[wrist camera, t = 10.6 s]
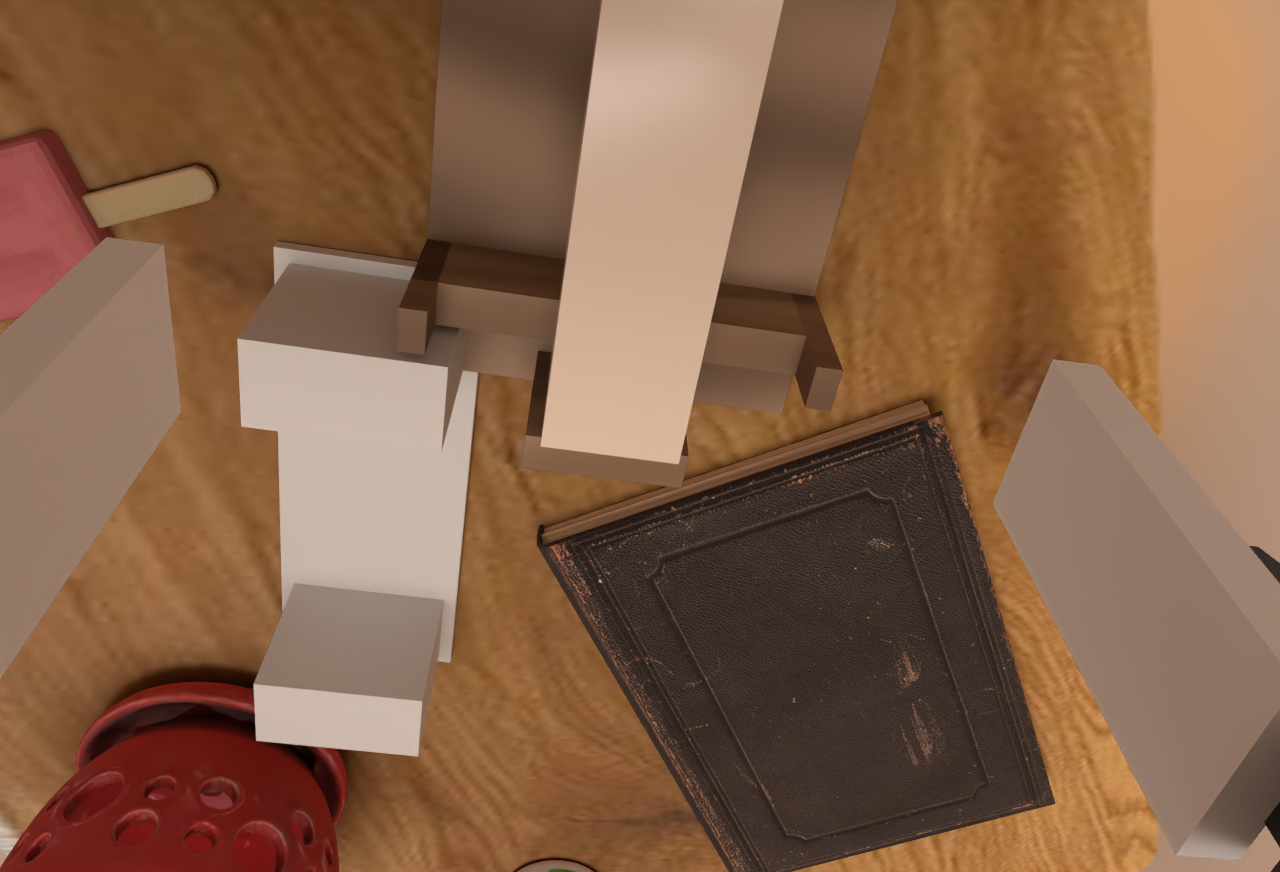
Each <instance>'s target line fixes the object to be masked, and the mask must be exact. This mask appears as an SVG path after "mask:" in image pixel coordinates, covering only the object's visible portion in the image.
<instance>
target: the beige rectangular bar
mask: <svg viewBox="0 0 1280 872" xmlns="http://www.w3.org/2000/svg"><path fill="white" fill-rule="evenodd" d="M783 1H784V0H600V6H599V14H598V21H597V28H596V35H595V43H594V50H593V57H592V65H591V72H590V79H589V86H588V94H587V101H586V108H585V116H584V123H583V130H582V137H581V145H580V152H579V159H578V167H577V174H576V181H575V188H574V196H573V203H572V210H571V218H570V225H569V232H568V239H567V247H566V254H565V261H564V268H563V276H562V283H561V290H560V298H559V305H558V312H557V319H556V327H555V334H554V341H553V349H552V356H551V363H550V370H549V378H548V386H547V395H546V404H545V412H544V421H543V429H542V438H541V447H549V448H556V449H564V450H572V451H580V452H587V453H595V454H603V455H610V456H618V457H626V458H634V459H641V460H649V461H657V462H665V463H672V464H679V461H680V456H681V452H682V448H683V443H684V439H685V434H686V430H687V425H688V421H689V417H690V412H691V408H692V403H693V399H694V395H695V390H696V386H697V381H698V377H699V372H700V368H701V364H702V359H703V355H704V350H705V346H706V342H707V337H708V333H709V328H710V324H711V319H712V315H713V311H714V306H715V302H716V297H717V293H718V289H719V284H720V280H721V275H722V271H723V266H724V262H725V258H726V253H727V249H728V244H729V240H730V236H731V231H732V227H733V222H734V218H735V213H736V209H737V205H738V200H739V196H740V191H741V187H742V183H743V178H744V174H745V169H746V165H747V160H748V156H749V152H750V147H751V143H752V138H753V134H754V130H755V125H756V121H757V116H758V112H759V107H760V103H761V99H762V94H763V90H764V85H765V81H766V77H767V72H768V68H769V63H770V59H771V54H772V50H773V46H774V41H775V37H776V32H777V28H778V24H779V19H780V15H781V10H782V6H783Z"/></svg>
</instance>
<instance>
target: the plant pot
mask: <svg viewBox="0 0 1280 872" xmlns="http://www.w3.org/2000/svg"><path fill="white" fill-rule="evenodd" d="M76 769H77V773H76V774H75V775H74V776H73V777H72V778H71V779H70V780H69V781H68V782H66V783H65V784H64V785H63V787H62V788H61V789H60V790H59V791H58V792H57V793H56V794H55V795H54V796H53V797H52V798H51V799H50V800H49V801H48V803H47V804H46V805H45V806H44V807H43V808H42V809H41V811H40V812H39V813H38V814H37V816H36V817H35V818H34V820H33V821H32V822H31V824H30V825H29V826H28V828H27V829H26V830H25V832H24V833H23V834H22V836H21V837H20V838H19V840H18V841H17V843H16V844H15V846H14V847H13V849H12V850H11V852H10V853H9V855H8V856H7V858H6V859H5V861H4V863H3V864H2V866H1V868H0V872H339V860H338V849H337V840H336V834H335V830H334V826H335V824H336V823H337V822H338V820H339V818H340V817H341V814H342V812H343V810H344V807H345V804H346V799H347V792H348V780H347V772H346V768H345V765H344V762H343V760H342V757H341V755H340V753H339V752H338V750H337V749H336V748H326V747H315V746H305V745H294V744H284V743H274V742H263V741H256V727H255V706H254V690H253V689H249V688H245V687H241V686H236V685H232V684H225V683H215V682H181V683H173V684H166V685H160V686H156V687H152V688H149V689H145V690H142V691H140V692H138V693H136V694H133V695H131V696H129V697H127V698H125V699H124V700H122V701H120V702H119V703H117V704H115V705H114V706H112V707H111V708H109V709H108V710H107V711H106V712H104V713H103V714H102V715H101V716H100V717H99V718H98V719H97V720H96V721H95V722H94V723H93V724H92V725H91V727H90V728H89V729H88V730H87V732H86V734H85V735H84V737H83V739H82V741H81V743H80V746H79V749H78V754H77V760H76Z"/></svg>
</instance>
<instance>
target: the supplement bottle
mask: <svg viewBox="0 0 1280 872" xmlns="http://www.w3.org/2000/svg"><path fill="white" fill-rule="evenodd" d="M517 872H593V871H592V870H590V869H589V868H587V867H585V866H583V865H580V864H578V863H574V862H570V861H564V860H547V861H541V862H537V863H533V864H531V865H528V866H526V867H524V868H522V869H520V870H519V871H517Z"/></svg>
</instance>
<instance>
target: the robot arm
mask: <svg viewBox="0 0 1280 872" xmlns="http://www.w3.org/2000/svg"><path fill="white" fill-rule="evenodd" d="M180 412H181V406H180V396H179V387H178V377H177V368H176V358H175V349H174V339H173V330H172V320H171V311H170V301H169V292H168V282H167V272H166V263H165V253H164V245H163V244H155V243H148V242H140V241H132V240H125V239H117V238H109V237H106V238H105V239H104V240H103V241H102V242H101V243H100V244H99V245H97V246H96V247H95V248H94V249H93V250H92V251H91V252H90V253H89V254H88V255H87V256H86V257H84V258H83V259H82V260H81V261H80V262H79V263H78V264H77V265H76V266H75V267H74V268H72V269H71V270H70V271H69V272H68V273H67V274H66V275H65V276H64V277H63V278H62V279H60V280H59V281H58V282H57V283H56V284H55V285H54V286H53V287H52V288H51V289H50V290H49V291H47V292H46V293H45V294H44V295H43V296H42V297H41V298H40V299H39V300H38V301H37V302H35V303H34V304H33V305H32V306H31V307H30V308H29V309H28V310H27V311H26V312H25V313H23V314H22V315H21V316H20V317H19V318H18V319H17V320H16V321H15V322H14V323H13V324H12V325H10V326H9V327H8V328H7V329H6V330H5V331H4V332H3V333H2V334H1V335H0V678H1V677H2V675H3V674H4V673H5V671H6V670H7V668H8V667H9V665H10V664H11V662H12V661H13V659H14V658H15V656H16V655H17V653H18V652H19V650H20V649H21V647H22V646H23V644H24V643H25V641H26V640H27V638H28V637H29V635H30V634H31V633H32V631H33V630H34V628H35V627H36V625H37V624H38V622H39V621H40V619H41V618H42V616H43V615H44V613H45V612H46V610H47V609H48V607H49V606H50V604H51V603H52V601H53V600H54V598H55V597H56V595H57V594H58V593H59V591H60V590H61V588H62V587H63V585H64V584H65V582H66V581H67V579H68V578H69V576H70V575H71V573H72V572H73V570H74V569H75V567H76V566H77V564H78V563H79V561H80V560H81V558H82V557H83V556H84V554H85V553H86V551H87V550H88V548H89V547H90V545H91V544H92V542H93V541H94V539H95V538H96V536H97V535H98V533H99V532H100V530H101V529H102V527H103V526H104V524H105V523H106V521H107V520H108V518H109V517H110V516H111V514H112V513H113V511H114V510H115V508H116V507H117V505H118V504H119V502H120V501H121V499H122V498H123V496H124V495H125V493H126V492H127V490H128V489H129V487H130V486H131V484H132V483H133V481H134V480H135V478H136V477H137V476H138V474H139V473H140V471H141V470H142V468H143V467H144V465H145V464H146V462H147V461H148V459H149V458H150V456H151V455H152V453H153V452H154V450H155V449H156V447H157V446H158V444H159V443H160V441H161V440H162V439H163V437H164V436H165V434H166V433H167V431H168V430H169V428H170V427H171V425H172V424H173V422H174V421H175V419H176V418H177V416H178V415H179V413H180ZM993 505H994V507H995V509H996V511H997V513H998V515H999V517H1000V519H1001V521H1002V523H1003V524H1004V526H1005V528H1006V530H1007V532H1008V534H1009V536H1010V538H1011V540H1012V542H1013V544H1014V546H1015V547H1016V549H1017V551H1018V553H1019V555H1020V557H1021V559H1022V561H1023V563H1024V565H1025V567H1026V569H1027V571H1028V572H1029V574H1030V576H1031V578H1032V580H1033V582H1034V584H1035V586H1036V588H1037V590H1038V592H1039V594H1040V595H1041V597H1042V599H1043V601H1044V603H1045V605H1046V607H1047V609H1048V611H1049V613H1050V615H1051V617H1052V619H1053V620H1054V622H1055V624H1056V626H1057V628H1058V630H1059V632H1060V634H1061V636H1062V638H1063V640H1064V642H1065V644H1066V645H1067V647H1068V649H1069V651H1070V653H1071V655H1072V657H1073V659H1074V661H1075V663H1076V665H1077V667H1078V668H1079V670H1080V672H1081V674H1082V676H1083V678H1084V680H1085V682H1086V684H1087V686H1088V688H1089V690H1090V692H1091V693H1092V695H1093V697H1094V699H1095V701H1096V703H1097V705H1098V707H1099V709H1100V711H1101V713H1102V715H1103V716H1104V718H1105V720H1106V722H1107V724H1108V726H1109V728H1110V730H1111V732H1112V734H1113V736H1114V738H1115V740H1116V741H1117V743H1118V745H1119V747H1120V749H1121V751H1122V753H1123V755H1124V757H1125V759H1126V761H1127V763H1128V764H1129V766H1130V768H1131V770H1132V772H1133V774H1134V776H1135V778H1136V780H1137V782H1138V784H1139V786H1140V788H1141V789H1142V791H1143V793H1144V795H1145V797H1146V799H1147V801H1148V803H1149V805H1150V807H1151V809H1152V811H1153V813H1154V814H1155V816H1156V818H1157V820H1158V822H1159V824H1160V826H1161V828H1162V830H1163V832H1164V834H1165V836H1166V837H1167V839H1168V841H1169V843H1170V845H1171V847H1172V849H1173V851H1174V853H1175V855H1177V856H1190V857H1204V858H1215V859H1228V860H1240V858H1241V857H1242V856H1243V854H1244V853H1245V852H1246V850H1247V849H1248V848H1249V846H1250V845H1251V844H1252V843H1253V841H1254V840H1255V839H1256V837H1257V836H1258V834H1259V833H1260V832H1261V831H1262V829H1263V828H1264V827H1265V825H1266V826H1267V828H1268V829H1269V831H1270V832H1271V834H1272V836H1273V837H1274V839H1275V840H1276V842H1277V844H1278V845H1279V847H1280V563H1279V562H1277V561H1276V560H1275V559H1274V558H1272V557H1271V556H1270V555H1268V554H1267V553H1265V552H1264V551H1263V550H1262V549H1260V548H1259V547H1255V546H1248V544H1247V543H1246V542H1245V541H1244V540H1243V538H1242V537H1241V536H1240V535H1239V534H1238V532H1237V531H1236V530H1235V529H1234V527H1233V526H1232V525H1231V524H1230V523H1229V521H1228V520H1227V519H1226V518H1225V517H1224V515H1223V514H1222V513H1221V512H1220V510H1219V509H1218V508H1217V507H1216V506H1215V504H1214V503H1213V502H1212V501H1211V500H1210V498H1209V497H1208V496H1207V495H1206V494H1205V492H1204V491H1203V490H1202V489H1201V487H1200V486H1199V485H1198V484H1197V483H1196V481H1195V480H1194V479H1193V478H1192V477H1191V475H1190V474H1189V473H1188V472H1187V471H1186V469H1185V468H1184V467H1183V466H1182V464H1181V463H1180V462H1179V461H1178V460H1177V458H1176V457H1175V456H1174V455H1173V453H1172V452H1171V451H1170V450H1169V448H1168V447H1167V446H1166V445H1165V444H1164V442H1163V441H1162V440H1161V439H1160V438H1159V436H1158V435H1157V434H1156V433H1155V431H1154V430H1153V429H1152V428H1151V427H1150V425H1149V424H1148V423H1147V422H1146V421H1145V419H1144V418H1143V417H1142V416H1141V414H1140V413H1139V412H1138V411H1137V410H1136V408H1135V407H1134V406H1133V405H1132V404H1131V402H1130V401H1129V400H1128V399H1127V397H1126V396H1125V395H1124V394H1123V393H1122V391H1121V390H1120V389H1119V388H1118V387H1117V385H1116V384H1115V383H1114V382H1113V380H1112V379H1111V378H1110V377H1109V376H1108V374H1107V373H1106V372H1105V371H1104V370H1103V368H1102V367H1101V366H1100V365H1093V364H1085V363H1077V362H1069V361H1062V360H1054V359H1053V360H1052V363H1051V365H1050V367H1049V370H1048V372H1047V375H1046V377H1045V379H1044V382H1043V384H1042V386H1041V389H1040V391H1039V394H1038V396H1037V398H1036V401H1035V403H1034V405H1033V408H1032V410H1031V413H1030V415H1029V417H1028V420H1027V422H1026V424H1025V427H1024V429H1023V432H1022V434H1021V436H1020V439H1019V441H1018V443H1017V446H1016V448H1015V451H1014V453H1013V455H1012V458H1011V460H1010V462H1009V465H1008V467H1007V470H1006V472H1005V474H1004V477H1003V479H1002V481H1001V484H1000V486H999V489H998V491H997V493H996V496H995V498H994V500H993ZM1271 872H1280V861H1279V862H1278V863H1277V865H1276V866H1275V867H1274V868H1273V870H1272V871H1271Z"/></svg>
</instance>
